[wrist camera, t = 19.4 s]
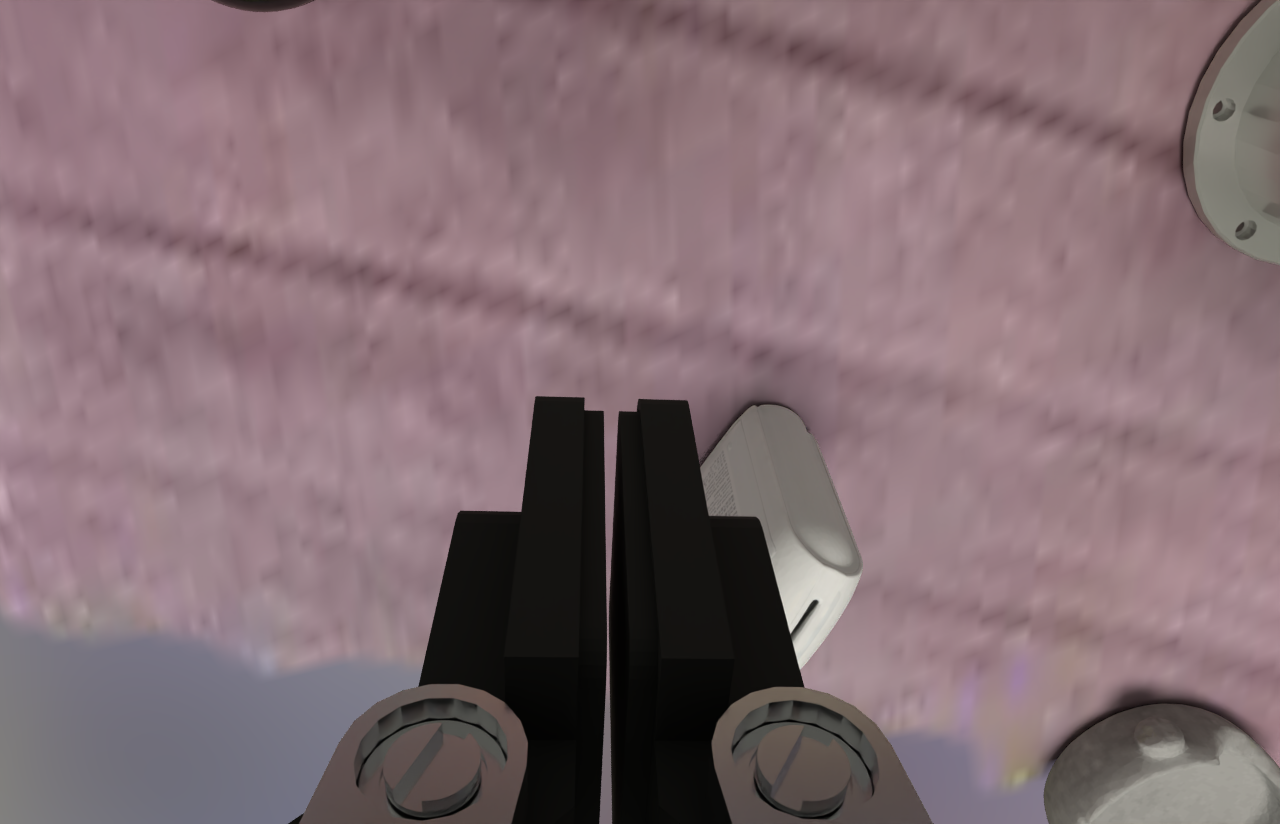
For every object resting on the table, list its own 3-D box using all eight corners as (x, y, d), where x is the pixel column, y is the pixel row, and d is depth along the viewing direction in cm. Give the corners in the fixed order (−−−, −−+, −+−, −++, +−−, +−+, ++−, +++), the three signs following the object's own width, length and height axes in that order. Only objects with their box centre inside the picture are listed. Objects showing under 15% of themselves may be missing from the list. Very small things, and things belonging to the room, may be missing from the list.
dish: (1096, 674, 53) (1141, 744, 49) (1303, 710, 55) (1364, 780, 51) (990, 835, 60) (1021, 909, 56) (1178, 861, 62) (1222, 934, 58)
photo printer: (710, 574, 48) (743, 770, 37) (639, 543, 47) (651, 736, 36) (825, 425, 44) (899, 597, 33) (750, 386, 43) (802, 551, 32)
